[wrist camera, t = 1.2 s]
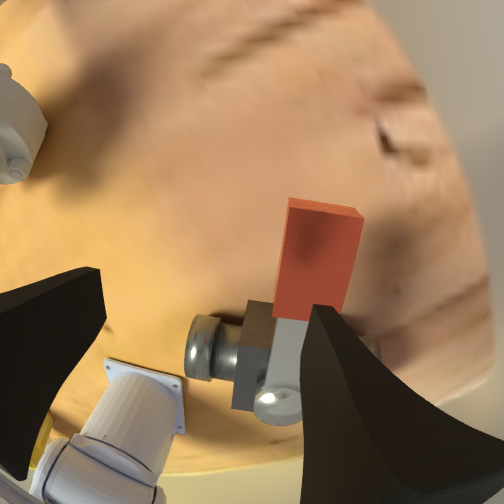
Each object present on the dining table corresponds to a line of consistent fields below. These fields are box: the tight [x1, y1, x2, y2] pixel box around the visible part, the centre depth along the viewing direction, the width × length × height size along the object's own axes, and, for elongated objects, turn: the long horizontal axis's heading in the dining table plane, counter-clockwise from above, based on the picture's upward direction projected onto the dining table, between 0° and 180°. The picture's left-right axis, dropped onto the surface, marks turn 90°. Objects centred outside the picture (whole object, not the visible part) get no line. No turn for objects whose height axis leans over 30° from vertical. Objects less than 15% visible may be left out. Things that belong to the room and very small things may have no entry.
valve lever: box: [253, 198, 364, 426], centre depth 15 cm, size 13×3×2 cm, turn 174°
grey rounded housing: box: [0, 0, 48, 185], centre depth 13 cm, size 10×20×15 cm
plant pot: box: [29, 412, 54, 470], centre depth 29 cm, size 10×10×10 cm
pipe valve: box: [184, 300, 381, 412], centre depth 20 cm, size 6×13×5 cm, turn 84°
